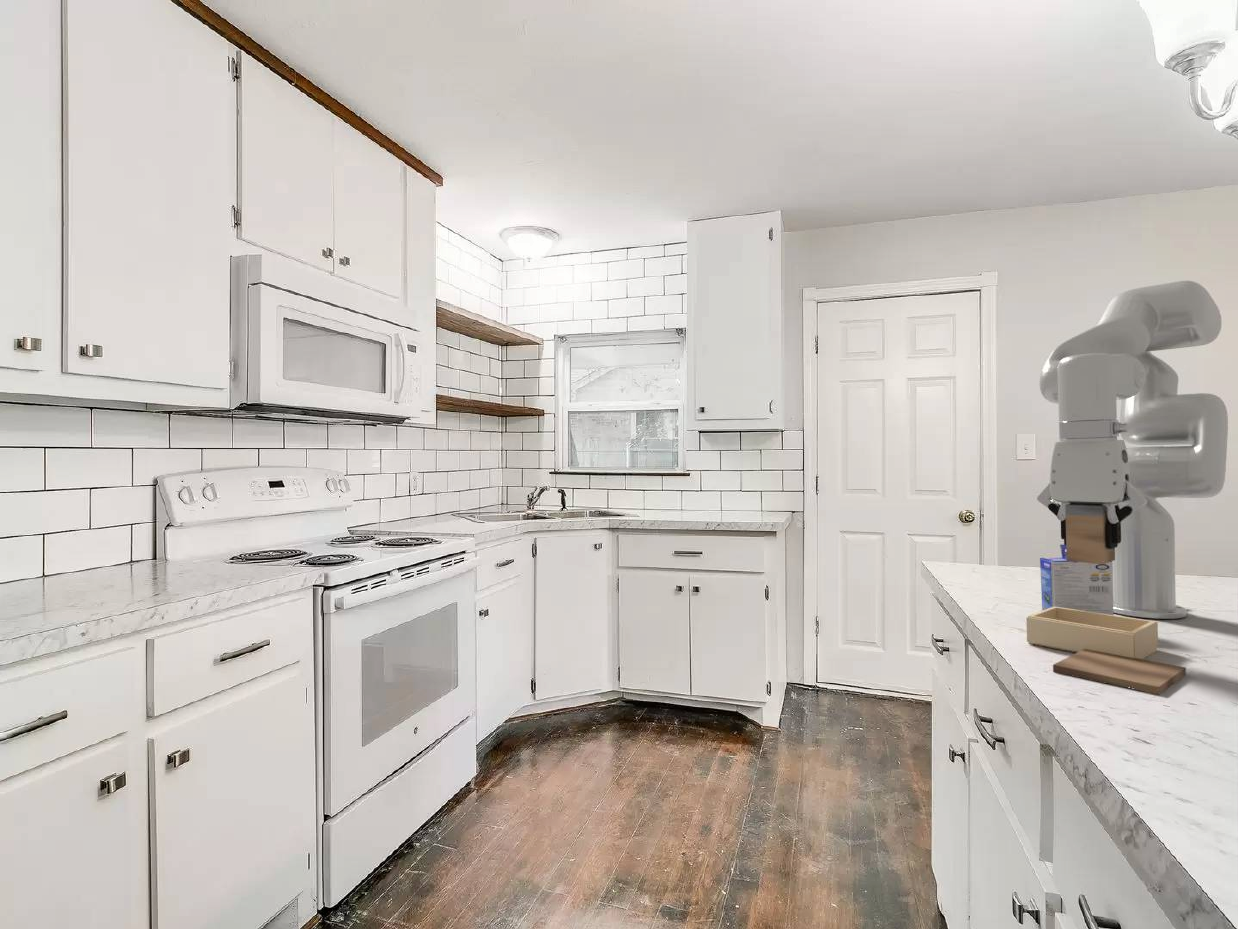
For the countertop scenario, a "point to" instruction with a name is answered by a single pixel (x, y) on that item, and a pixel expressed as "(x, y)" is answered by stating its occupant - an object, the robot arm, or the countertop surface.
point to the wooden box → (1092, 632)
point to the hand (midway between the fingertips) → (1090, 544)
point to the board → (1121, 670)
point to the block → (1087, 534)
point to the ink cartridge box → (1076, 584)
